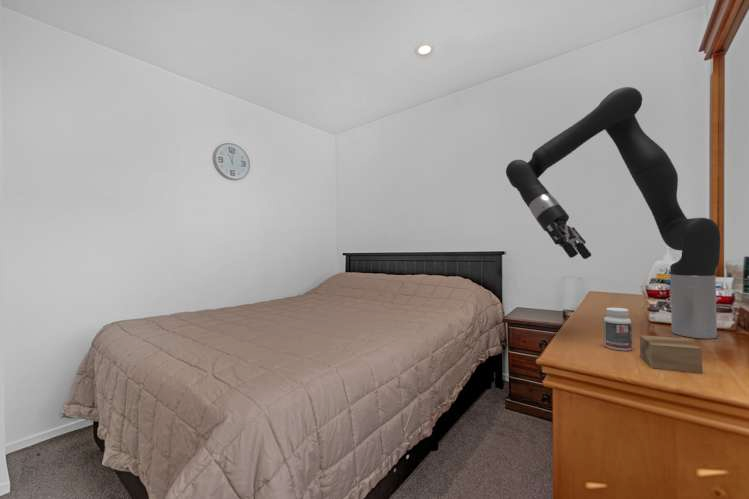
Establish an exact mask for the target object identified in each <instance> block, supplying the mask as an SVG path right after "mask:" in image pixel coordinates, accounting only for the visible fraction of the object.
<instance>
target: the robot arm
mask: <svg viewBox="0 0 749 499" xmlns="http://www.w3.org/2000/svg"><path fill="white" fill-rule="evenodd" d="M642 103H643V94H642V93H641V92H640V91H639V90H638V89H636V88H634V87H630V86H626V87H619V88H617V89H615V90H613V91H612V92H610V93H609V94H608V95H606V96H605V98H603V99H602V100H601V102H600V103H599V104H598V105H597V106H596V107H595V108H594V109H593V110H592V111H590V112H589V113H588V114H587V115H585V116H584V117H583V118H581V119H580V120H578V121H577V122H575V123H574V124H573V125H571V126H569V127H568V128H566V129H565V130H562V132H561V133H559V134H557V135H556V136H554V137H553V138H551V139H549V140H548V141H546V142H545V143H544V144H542V145H540V147H538V148H537V149H535V150H534V151H533V152H532V156H531V159H530V160H529V161H528V162H526V161H525V160H523V159H514V160H512V161H510V162H509V163H508V165H507V166H506V169H505V174H506V177H507V179H508V181H509V183H510V185H511V186H512V188H515V189H516V190H517V191H518V193H519V195H520V197H521V198H522V200H523V202H524V203H525V204H526V206H527V207H528V208H529V210H530V212H531V214H532V216H533V217H534V219H535V220H536V222H537V223H538V224H539V225H540V227H541V228H542V230H543V231H544V232H546V233H548V236H549V237H550V239H551V240H552V241H553V243H554V244H555V245H556V246H557V245H558V246H559V247H560V248H562V250H564V251H565V253H566V254H567V257H569V258H571V259H572V258H574V257H576V256H577V255H580V256H581V257H582V259H584V260H587V259H589V258H590V257H592V253H591V252H590V250H589V249H588V248H587V246H586V245H585V244H586V243H587V241H586V240H584V238H583V237H582V235H581V234H580V233H579V232H578V230H577V229H576V228H575V227H573V226H572V227H571V226H570V225H568V224H567V222H568V221H569V219H570V215H569V214H568V213H567V211H566V210H565V209H564V208H563V207H562V206H561V204H560V203H559V202H558V199H556V198H555V197H554V196H553V195H552V194H551V193H550V192H549V191H548V189H547V187H545V185H543V184H542V182H541V181H540V180H539V178H540V177H541V176H542V175H543V174H544V173H545V172H546V171H547V170H548V169H549V168H551V167H552V166H554V165H556V164H557V163H558V162H560V161H561V160H563V159H564V158H566V157H568V156H569V155H570V154H572V153H573V152H574V151H576V150H577V149H579V148H580V146H582V145H584V144H585V143H587V142H588V141H589V140H591V138H594V137H595V136H597V135H598V134H601V132H603V131H606V133H607V135H608V136H609V137H610V139H611V140H612V141H613V143H614V144H615V146H616V148H617V150H618V152H619V154H620V156H621V158H622V160H623V162H624V165H626V168H627V170H628V171H629V173H630V175H631V177H632V179H633V181H634V183H635V185H636V186H637V188H638V189H639V191H640V193H641V194H642V197H643V198H644V201H645V202H646V204H647V206H648V208H649V209H650V211H651V214H652V216H653V219H654V221H655V223H656V226H657V229H658V232H659V234H660V236H661V238H662V240H663V241H664V243H665V244H666V246H667V247H668V248H670V249H672V250H675V251H681V256H680V258H679V260H678V261H676V262H674V263H672V264H671V265H670V267H669V270H670V271H669V273H670V275H669V277H670V310H671V312H670V313H671V315H670V316H671V317H670V318H671V319H670V320H671V333H673V334H675V335H677V336H682V337H687V338H696V339H704V340H705V339H709V340H710V339H717V337H718V330H717V327H718V326H717V324H718V322H717V290H716V285H717V283H716V282H717V281H716V270H717V268H718V266H719V264H720V256H721V255H720V254H721V253H720V252H721V233H720V229H719V226H718V225H717V223H716V222H715V221H714V220H712V219H710V218H706V217H695V218H694V217H693V218H687V216H686V215H685V213H684V212H683V209H682V208H681V206H680V204H679V202H678V196H677V195H678V186H679V178H678V172H677V170H676V167H675V165H674V164H673V162H672V160H671V158H670V157H669V155H668V153H667V152H666V151H665V150H664V149H663V148H662V147H661V146H660V145H659V144H658V143H656V142H655V141H654V140H653V139H651V137H649V135H647V134H646V133H645V131H644V130H643V129H642V127H641V125H640V124H639V121H638V119H637V117H636V114H637V113H638V112H639V111H640V108H641V107H642Z"/></svg>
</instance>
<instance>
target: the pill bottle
mask: <svg viewBox="0 0 749 499" xmlns="http://www.w3.org/2000/svg"><path fill="white" fill-rule="evenodd" d="M605 313H606V315H607V316H605V317H604V318H603V333H604V335H603V336H604V337H603V338H604V340H603V341H604V342H603V343H604V346H605V347H606V348H608V349H611V350H613V351H615V350H616V351H621V352H622V351H625V352H627V351H631V350H632V349H633V332H632V331H633V328H632V320H631V319H630V318H629V315H630V311H629V309H628V308H624V307H607V308H606V309H605Z"/></svg>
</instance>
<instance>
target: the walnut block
mask: <svg viewBox="0 0 749 499" xmlns="http://www.w3.org/2000/svg"><path fill="white" fill-rule="evenodd" d="M639 356H640V357H641V359H643V361H645V363H646V364H647V365H648V366H649V367H650V368H652V369H656V370H657V369H658V370H668V371H677V372H688V373H694V374H695V373H696V374H703V349H702V348H701V347H700V346H698V345H697V344H695V343H693V342H691V341H689V340H688V339H686V338H683V337H682V338H681V337H670V336H658V335H657V336H655V335H644V334H643V335H641V334H640V335H639Z"/></svg>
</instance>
